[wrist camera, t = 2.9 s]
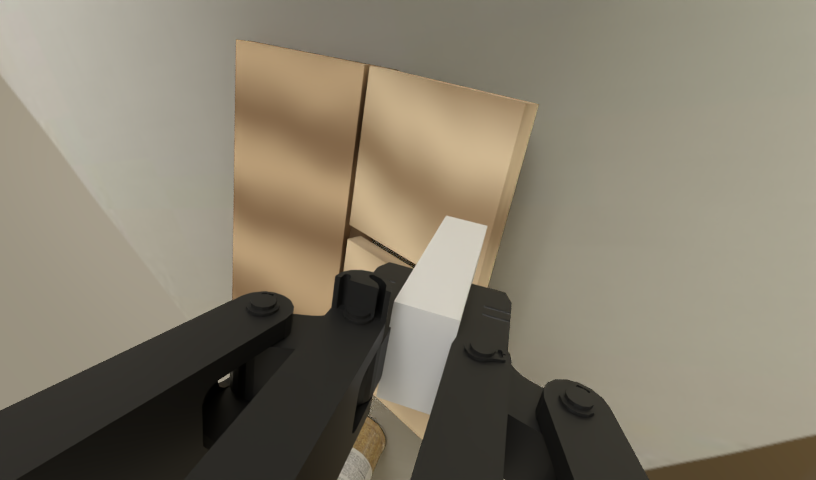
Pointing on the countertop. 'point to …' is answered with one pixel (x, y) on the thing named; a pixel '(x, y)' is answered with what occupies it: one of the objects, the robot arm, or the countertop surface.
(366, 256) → the plank
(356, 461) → the sprinkles bottle
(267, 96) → the laid board
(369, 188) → the plank
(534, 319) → the countertop surface
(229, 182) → the countertop surface
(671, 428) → the countertop surface
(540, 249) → the countertop surface
